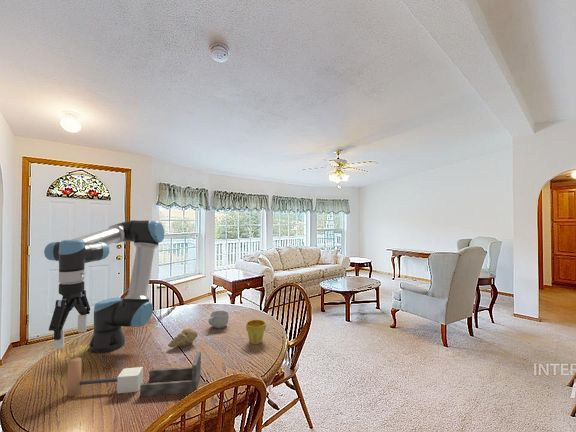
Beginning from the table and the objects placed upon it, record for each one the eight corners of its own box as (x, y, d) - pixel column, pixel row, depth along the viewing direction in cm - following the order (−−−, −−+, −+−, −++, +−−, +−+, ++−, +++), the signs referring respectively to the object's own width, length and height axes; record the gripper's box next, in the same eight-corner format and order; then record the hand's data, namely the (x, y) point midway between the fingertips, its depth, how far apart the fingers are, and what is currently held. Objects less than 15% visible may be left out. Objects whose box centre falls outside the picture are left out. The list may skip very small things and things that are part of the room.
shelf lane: (140, 396, 101) (140, 368, 101) (150, 379, 112) (150, 354, 112) (195, 392, 104) (196, 365, 104) (200, 376, 114) (200, 351, 115)
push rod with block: (63, 398, 99) (63, 365, 100) (72, 388, 105) (73, 356, 105) (137, 391, 104) (138, 359, 104) (142, 382, 110) (143, 351, 110)
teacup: (221, 321, 175) (221, 309, 175) (232, 326, 168) (232, 312, 168) (201, 328, 164) (202, 314, 164) (212, 333, 157) (213, 319, 157)
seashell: (173, 354, 133) (173, 337, 133) (164, 348, 138) (165, 332, 138) (198, 344, 144) (198, 328, 144) (189, 339, 149) (190, 324, 149)
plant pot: (260, 347, 141) (260, 327, 141) (242, 344, 144) (242, 325, 144) (268, 339, 151) (268, 320, 151) (251, 336, 154) (251, 318, 154)
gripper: (60, 290, 91) (60, 355, 91) (100, 274, 116) (100, 325, 116) (35, 291, 90) (34, 357, 90) (80, 274, 115) (80, 326, 115)
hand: (71, 339), depth 103 cm, fingers open, 13 cm apart
